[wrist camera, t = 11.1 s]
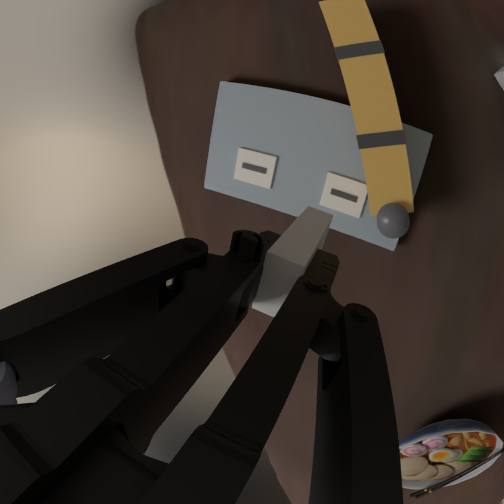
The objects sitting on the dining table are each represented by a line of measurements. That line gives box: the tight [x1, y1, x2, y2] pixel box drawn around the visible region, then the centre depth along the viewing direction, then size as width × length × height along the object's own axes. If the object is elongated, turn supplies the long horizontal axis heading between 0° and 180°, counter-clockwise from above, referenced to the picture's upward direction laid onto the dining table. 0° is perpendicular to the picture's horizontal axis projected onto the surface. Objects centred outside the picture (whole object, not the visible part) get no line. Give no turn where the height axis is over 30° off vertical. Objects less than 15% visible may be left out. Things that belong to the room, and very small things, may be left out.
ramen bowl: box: [399, 419, 504, 498], centre depth 34 cm, size 25×23×8 cm
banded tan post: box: [319, 0, 414, 239], centre depth 22 cm, size 22×4×5 cm, turn 15°
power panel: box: [204, 81, 433, 251], centre depth 30 cm, size 23×13×2 cm, turn 80°
